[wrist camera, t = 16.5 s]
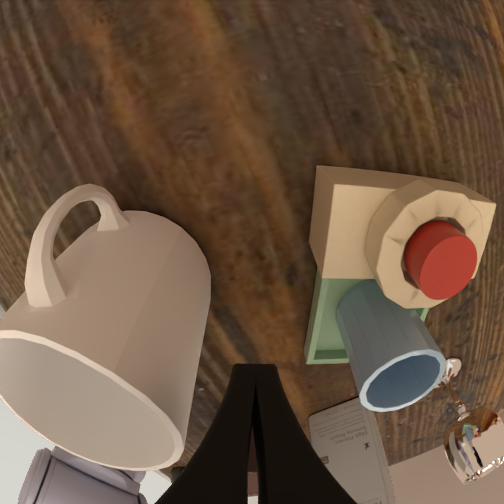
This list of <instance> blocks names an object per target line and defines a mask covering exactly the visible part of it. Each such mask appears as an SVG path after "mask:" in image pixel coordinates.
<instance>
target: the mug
mask: <svg viewBox="0 0 504 504" xmlns="http://www.w3.org/2000/svg"><path fill="white" fill-rule="evenodd" d="M87 200H92V201H94V202H95V203H96V204H97V205H98V207H99V210H100V213H101V218H100V221H99V222H98V223H96V224H94V225H93V226H91V227H90V228H88V229H87V230H86V231H85V232H84V233H83V234H82V235H81V236H80V237H79V238H78V239H77V240H75V241H74V242H73V243H72V244H71V245H70V246H69V247H68V248H67V249H66V250H65V251H64V252H63V253H62V254H61V255H60V256H59V257H58V258H57V259H56V260H54V258H53V245H54V238H55V235H56V233H57V230H58V228H59V225H60V223H61V221H62V220H63V218H64V217H65V216H66V215H67V213H68V212H69V211H70V209H71V208H72V207H74V206H75V205H77V204H78V203H80V202H84V201H87ZM25 289H26V291H25V292H24V293H23V294H22V295H21V296H20V297H19V298H18V300H17V301H16V302H15V303H14V304H13V305H12V306H11V307H10V309H9V310H8V311H7V312H6V313H5V314H4V315H3V317H2V318H1V319H0V398H1V399H2V401H3V402H4V403H5V404H6V405H7V406H8V408H9V409H10V410H11V411H12V412H13V413H14V414H15V415H16V416H17V417H18V418H19V419H20V420H22V421H23V422H24V423H25V424H26V425H27V426H29V427H30V428H31V429H32V430H34V431H35V432H36V433H38V434H39V435H41V436H42V437H43V438H45V439H47V440H48V441H49V442H51V443H53V444H54V445H56V446H58V447H60V448H62V449H64V450H65V451H67V452H69V453H71V454H73V455H76V456H78V457H81V458H83V459H86V460H88V461H91V462H94V463H97V464H101V465H104V466H108V467H112V468H117V469H123V470H131V471H153V470H157V469H162V468H166V467H169V466H170V465H172V464H173V463H175V462H177V461H178V460H179V459H180V457H181V455H182V452H183V450H184V446H185V440H186V434H187V428H188V421H189V415H190V410H191V404H192V398H193V392H194V386H195V381H196V375H197V369H198V364H199V358H200V353H201V348H202V342H203V337H204V332H205V326H206V321H207V316H208V311H209V306H210V301H211V274H210V270H209V267H208V263H207V260H206V257H205V256H204V254H203V252H202V251H201V249H200V248H199V246H198V244H197V243H196V241H195V240H194V239H193V238H192V237H191V236H190V235H189V234H188V233H187V232H186V231H185V230H184V229H183V228H182V227H180V226H178V225H177V224H175V223H173V222H172V221H170V220H168V219H167V218H165V217H162V216H159V215H156V214H153V213H150V212H147V211H128V210H127V211H123V212H122V211H121V210H120V209H119V207H118V205H117V203H116V201H115V199H114V197H113V196H112V195H111V194H110V193H109V192H108V191H107V190H106V189H105V188H103V187H101V186H97V185H93V184H86V185H82V186H77V187H75V188H74V189H72V190H71V191H69V192H67V193H66V194H64V195H63V196H61V197H60V198H59V199H58V200H57V201H56V202H55V203H54V204H53V205H52V206H51V207H50V208H49V210H48V211H47V212H46V213H45V214H44V216H43V218H42V219H41V221H40V223H39V225H38V227H37V228H36V230H35V232H34V234H33V238H32V242H31V246H30V251H29V255H28V260H27V268H26V276H25Z"/></svg>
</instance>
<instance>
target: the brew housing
mask: <svg viewBox="0 0 504 504" xmlns="http://www.w3.org/2000/svg"><path fill="white" fill-rule="evenodd" d="M495 207H496V203H494V202H492V201H491V200H489V199H487V198H485V197H484V196H482V195H480V194H478V193H477V192H475V191H473V190H471V189H469V188H468V187H466V186H464V185H462V184H460V183H458V182H452V181H446V180H440V179H434V178H427V177H421V176H414V175H407V174H399V173H391V172H383V171H375V170H365V169H356V168H345V167H334V166H321V165H317V166H316V178H315V189H314V199H313V209H312V219H311V228H310V237H309V244H310V247H311V249H312V252H313V255H314V258H315V261H316V263H317V266H318V269H319V272H320V275H321V278H332V279H375V280H376V282H377V283H378V285H379V287H380V288H381V290H382V292H383V294H384V295H385V296H386V297H387V298H389V299H391V300H392V301H394V302H395V303H397V304H398V305H400V306H402V307H403V308H406V309H412V308H430V307H434V306H435V305H437V304H439V303H441V302H443V301H444V300H446V299H444V300H433V299H430V298H428V297H427V296H426V295H424V293H423V292H422V291H421V289H420V288H419V287H418V285H417V284H416V283H415V281H414V280H413V279H412V277H411V276H410V275H409V273H408V272H407V270H406V267H405V262H404V256H405V250H406V247H407V244H408V242H409V240H410V238H411V237H412V236H413V234H414V233H415V232H416V231H417V230H418V229H419V228H420V227H421V226H423V225H424V224H426V223H428V222H431V221H435V220H443V221H447V222H449V223H451V224H452V225H453V226H454V227H456V228H457V229H458V230H460V231H461V232H462V233H463V234H464V235H466V236H467V237H468V238H469V239H470V240H472V242H473V243H474V245H475V247H476V250H477V265H476V268H475V271H474V274H473V276H472V278H474V277H475V274H476V272H477V269H478V266H479V263H480V260H481V257H482V254H483V251H484V247H485V244H486V241H487V237H488V234H489V230H490V227H491V223H492V219H493V216H494V212H495ZM447 299H448V298H447Z"/></svg>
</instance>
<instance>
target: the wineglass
mask: <svg viewBox="0 0 504 504" xmlns="http://www.w3.org/2000/svg"><path fill="white" fill-rule="evenodd" d="M460 369H461V361H460V360H459V359H458V358H450V359H447V360H446V367H445V373H444V374H443V376H442V378H441V380H440V381H439V383H438V384H437V385H436V386H435V387H434V388H433V389H435V388H439V387H441V386H443V385H446V386H447V388H448V390H449V391H450V393H451V395H452V398H453V401H454V407H455V411H456V412H457V413H458V414H460V415H461V416H459V417H458V418H457V419H456V420H455V421H454V422H453V423H452V425H451V426H450V427H449V429H448V430H447V432H446V435H445V439H444V449H445V454H446V457H447V459H448V462H449V464H450V465H451V467H452V469H453V470H454V472H455V473H456V475H457V477H458V478H459V479H460V480H461V481H462V483H463V484H467V483H470V482H473V481H475V480H477V479H479V478H481V477H483V476H485V475H486V474H488V473H490V472H491V471H493V470H494V469H495V468H497V467H498V466H499V465H501V464H502V463H503V462H504V424H503V422H502V420H501V418H500V417H499V416H498V414H497V413H496V412H495V411H494V410H492V409H490V408H486V407H481V408H475V409H472V410H469V411H467V412H465V405H464V403H463V402H462V401H461V400H460V399H459V398H458V396H457V395H456V393H455V391H454V389H453V387H452V385H451V382H450V381H451V380H452V379H453V378H454V377H455V376H456V375H457V374H458V372H459V371H460Z"/></svg>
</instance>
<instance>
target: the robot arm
mask: <svg viewBox="0 0 504 504" xmlns="http://www.w3.org/2000/svg"><path fill="white" fill-rule="evenodd" d="M252 426H253V437H254V447H255V458H256V468H257V478H258V504H358V503H357V502H356V501H355V500H354V499H353V498H352V497H351V496H350V495H349V494H348V493H347V492H346V491H345V489H344V488H343V487H342V486H341V485H340V484H339V483H338V481H337V480H336V479H335V478H334V477H333V475H332V474H331V473H330V471H329V470H328V469H327V468H326V466H325V465H324V463H323V462H322V461H321V459H320V458H319V456H318V455H317V453H316V452H315V450H314V449H313V447H312V446H311V444H310V442H309V441H308V439H307V437H306V435H305V434H304V432H303V430H302V428H301V427H300V425H299V423H298V421H297V419H296V417H295V415H294V413H293V411H292V408H291V406H290V404H289V402H288V400H287V397H286V395H285V392H284V390H283V387H282V384H281V381H280V378H279V375H278V371H277V367H276V366H275V365H274V364H235V365H233V369H232V374H231V378H230V382H229V385H228V388H227V390H226V393H225V396H224V398H223V401H222V403H221V405H220V408H219V410H218V412H217V414H216V416H215V418H214V420H213V422H212V424H211V426H210V428H209V430H208V432H207V434H206V435H205V437H204V439H203V441H202V442H201V444H200V446H199V447H198V449H197V450H196V452H195V454H194V455H193V457H192V458H191V460H190V461H189V462H188V464H187V465H186V467H185V468H184V469H183V471H182V472H181V473H180V475H179V476H178V477H177V479H176V480H175V481H174V482H173V484H172V485H171V486H170V487H169V488H168V490H167V491H166V492H165V493H164V494H163V495H162V496H161V497H160V498H159V499H158V501H157V502H156V503H155V504H248V461H249V453H250V444H251V435H252ZM145 474H146V471H131V470H123V469H117V468H112V467H108V466H104V465H101V464H97V463H94V462H91V461H88V460H86V459H83V458H81V457H78V456H76V455H73V454H71V453H69V452H67V451H65V450H64V449H62V448H60V447H58V446H55V448H54V449H53V450H52V452H51V451H50V450H49V449H47V448H44V449H41V450H38V451H37V452H36V454H35V456H34V459H33V461H32V463H31V465H30V468H29V471H28V473H27V476H26V478H25V481H24V483H23V486H22V489H21V492H20V495H19V499H18V500H19V502H18V504H148V503H147V501H146V499H145V497H144V495H142V494H141V493H139V488H140V484H139V483H140V482H141V481H142V480H143V478H144V476H145Z"/></svg>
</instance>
